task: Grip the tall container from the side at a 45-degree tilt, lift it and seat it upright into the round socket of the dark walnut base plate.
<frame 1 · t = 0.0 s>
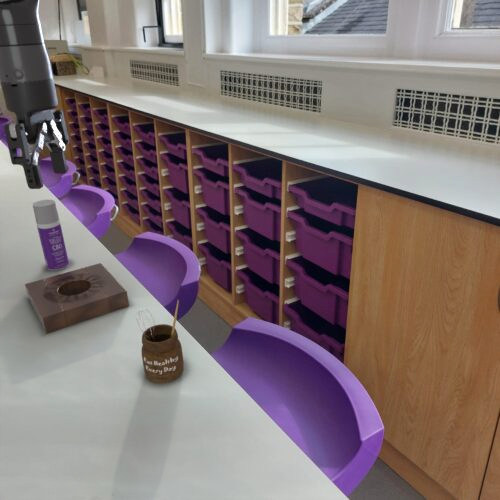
hand: (49, 180, 81), 25 cm above the table, tool pointing down, fingers open, 8 cm apart
socket plate: (78, 303, 93), on the table
container: (58, 267, 109), on the table
utensil holder: (165, 373, 74), on the table
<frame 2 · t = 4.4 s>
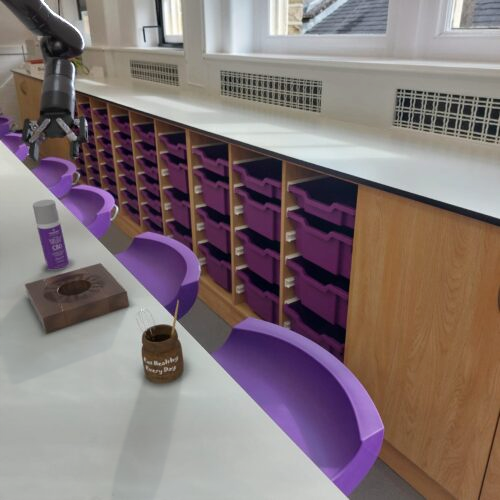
hand: (53, 158, 110), 22 cm above the table, tool tilted 45°, fingers open, 8 cm apart
nothing on the table moved.
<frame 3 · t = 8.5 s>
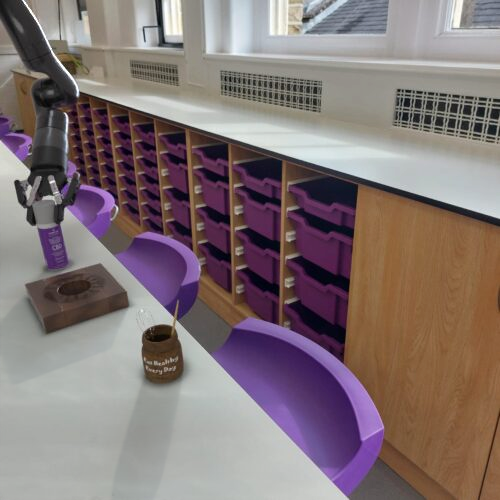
hand: (44, 223, 102), 11 cm above the table, tool tilted 45°, fingers closed on container, 4 cm apart
container: (58, 267, 108), on the table, touching gripper
everything else where it was.
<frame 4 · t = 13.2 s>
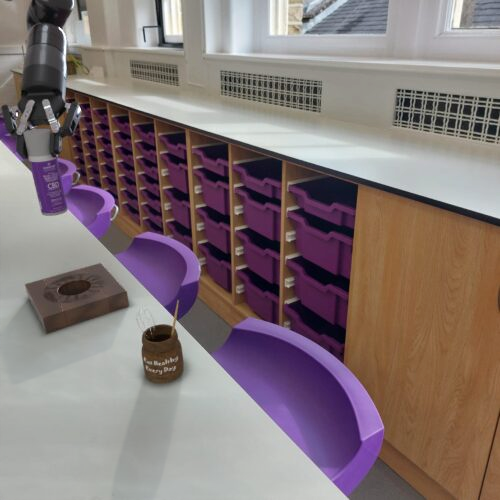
hand: (38, 155, 85), 28 cm above the table, tool tilted 45°, fingers closed on container, 4 cm apart
container: (55, 212, 92), point 17 cm above the table, touching gripper
everything else where it was.
when the fingers open (11 cm above the table, at t = 18.3 s): container stays where it is, resting in socket plate.
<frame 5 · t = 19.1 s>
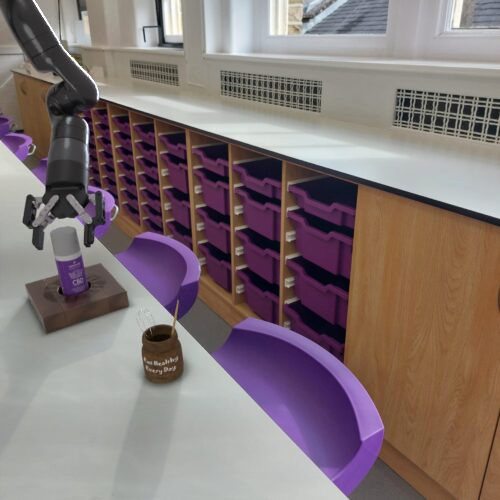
hand: (63, 247, 87), 12 cm above the table, tool tilted 45°, fingers open, 8 cm apart
container: (78, 303, 94), resting in socket plate
everything else where it was.
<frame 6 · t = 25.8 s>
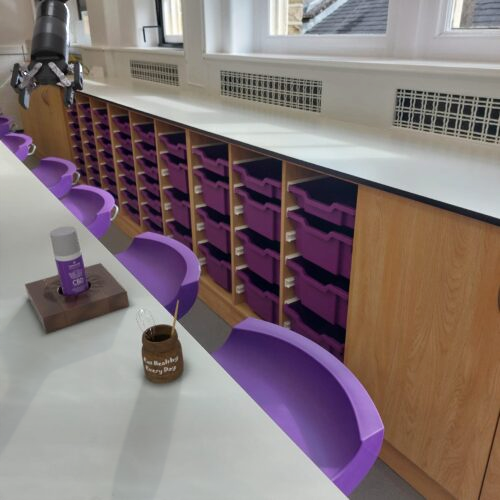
hand: (45, 106, 101), 34 cm above the table, tool tilted 45°, fingers open, 8 cm apart
nothing on the table moved.
at the end: container 0.1 cm off-centre in the socket plate, point 0.0 cm above the socket plate's base; container tilted 0°; the gripper is holding nothing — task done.
